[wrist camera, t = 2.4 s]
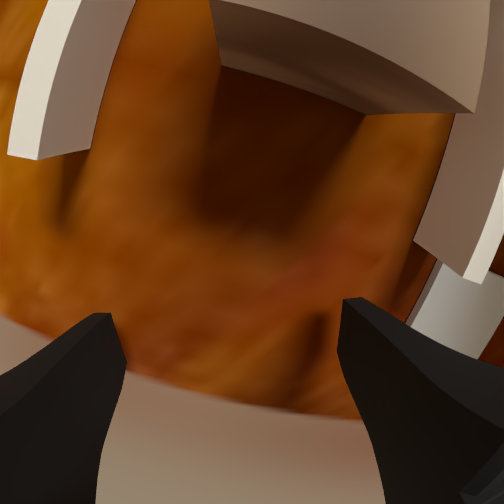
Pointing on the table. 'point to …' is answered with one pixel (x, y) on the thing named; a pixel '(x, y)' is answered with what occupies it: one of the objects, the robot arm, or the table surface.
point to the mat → (459, 310)
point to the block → (362, 49)
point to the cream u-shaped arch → (97, 71)
